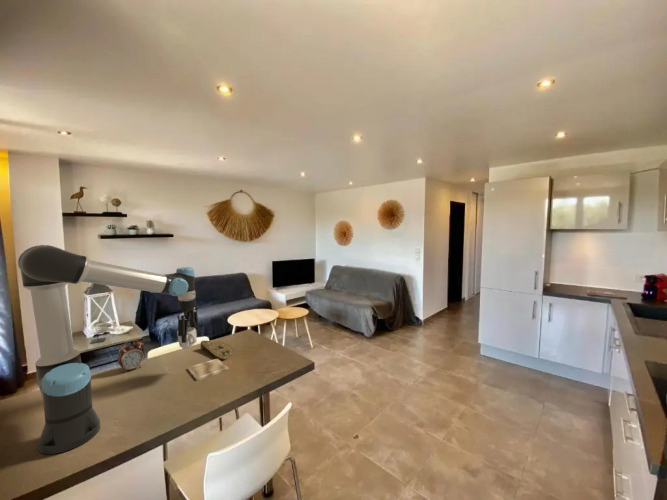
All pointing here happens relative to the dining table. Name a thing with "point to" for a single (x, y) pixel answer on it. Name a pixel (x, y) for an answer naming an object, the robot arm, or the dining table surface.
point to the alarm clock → (131, 356)
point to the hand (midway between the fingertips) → (189, 345)
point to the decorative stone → (218, 348)
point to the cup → (190, 337)
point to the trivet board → (207, 369)
